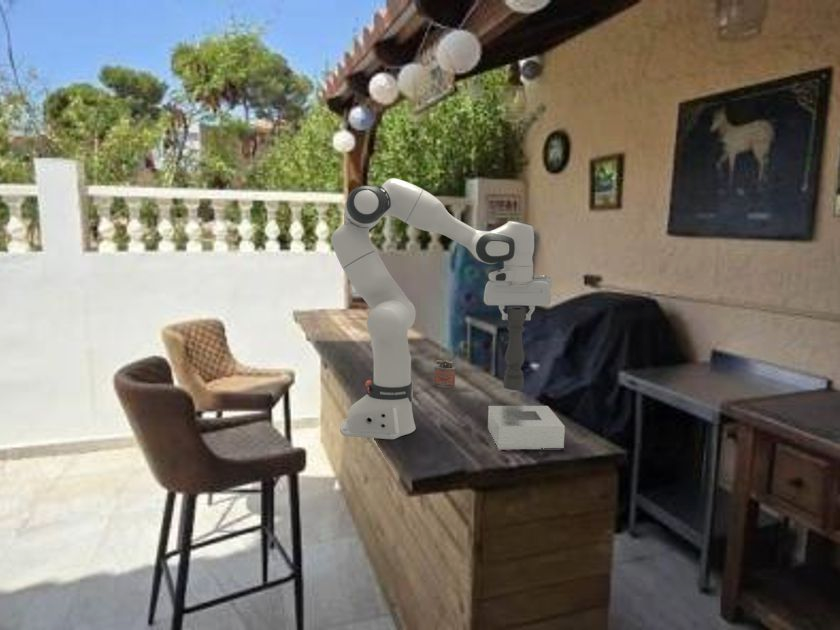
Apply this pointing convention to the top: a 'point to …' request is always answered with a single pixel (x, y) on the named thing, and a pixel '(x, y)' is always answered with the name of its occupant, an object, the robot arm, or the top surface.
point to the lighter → (444, 374)
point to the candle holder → (515, 349)
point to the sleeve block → (525, 427)
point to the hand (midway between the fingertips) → (516, 319)
